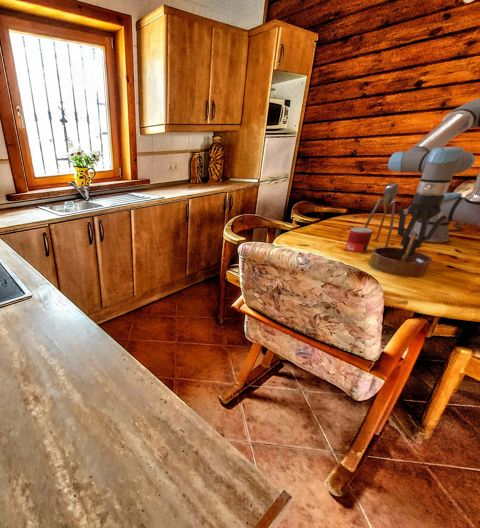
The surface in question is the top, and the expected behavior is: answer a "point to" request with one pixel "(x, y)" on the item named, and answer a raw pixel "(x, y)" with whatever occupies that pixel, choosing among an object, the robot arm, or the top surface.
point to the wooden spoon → (409, 247)
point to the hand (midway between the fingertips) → (406, 254)
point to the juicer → (388, 198)
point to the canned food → (358, 239)
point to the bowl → (399, 262)
